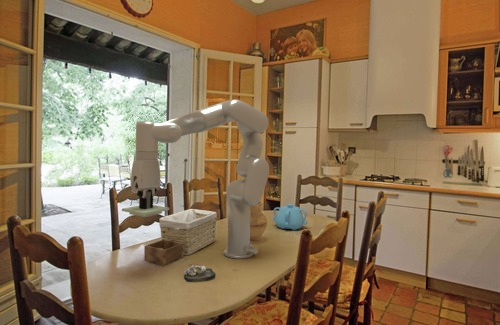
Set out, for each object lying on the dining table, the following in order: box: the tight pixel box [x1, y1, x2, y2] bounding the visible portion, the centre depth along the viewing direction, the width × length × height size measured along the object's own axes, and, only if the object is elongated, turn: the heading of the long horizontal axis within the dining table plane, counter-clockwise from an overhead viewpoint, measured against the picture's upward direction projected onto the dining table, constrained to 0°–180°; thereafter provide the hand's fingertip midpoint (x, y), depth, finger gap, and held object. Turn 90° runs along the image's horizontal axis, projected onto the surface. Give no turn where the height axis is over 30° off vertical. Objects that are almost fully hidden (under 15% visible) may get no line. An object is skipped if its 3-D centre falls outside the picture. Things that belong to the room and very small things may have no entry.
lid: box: [121, 190, 170, 218], centre depth 114 cm, size 11×11×8 cm
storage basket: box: [158, 208, 218, 256], centre depth 145 cm, size 24×16×15 cm
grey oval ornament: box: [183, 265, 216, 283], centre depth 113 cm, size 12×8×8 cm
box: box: [143, 239, 184, 267], centre depth 129 cm, size 11×11×6 cm
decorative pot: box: [272, 203, 308, 231], centre depth 182 cm, size 16×16×14 cm
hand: (146, 207), depth 114 cm, fingers closed on lid
